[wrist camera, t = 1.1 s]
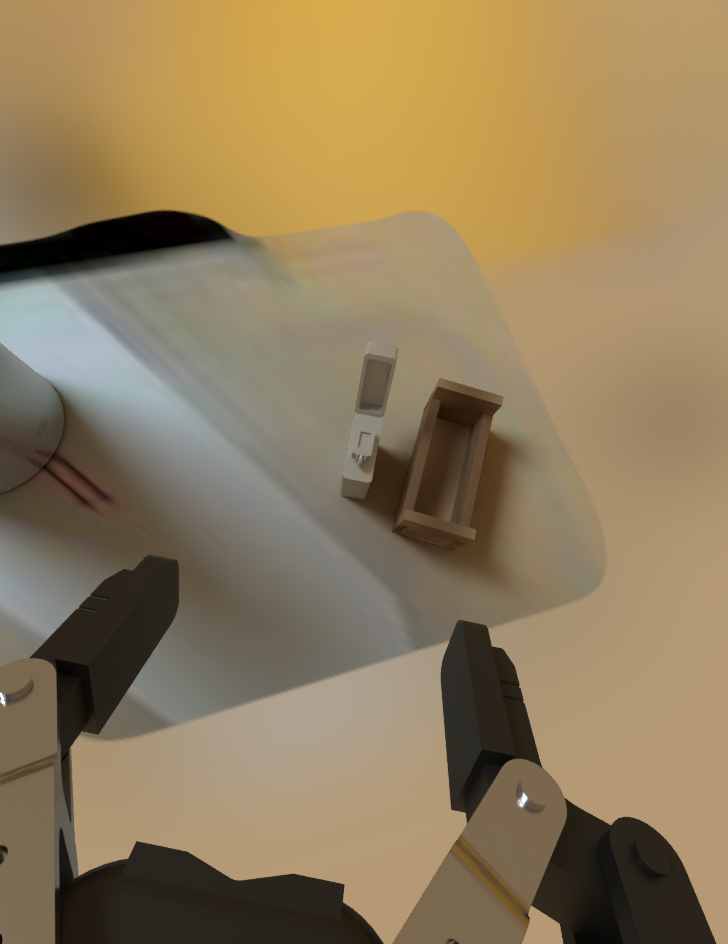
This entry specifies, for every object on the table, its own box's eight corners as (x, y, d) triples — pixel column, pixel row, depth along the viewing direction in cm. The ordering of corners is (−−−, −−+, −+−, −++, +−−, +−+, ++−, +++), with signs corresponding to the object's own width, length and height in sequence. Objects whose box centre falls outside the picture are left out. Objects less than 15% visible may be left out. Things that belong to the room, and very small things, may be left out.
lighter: (365, 500, 29) (378, 463, 21) (339, 495, 29) (344, 456, 21) (382, 404, 31) (400, 340, 23) (358, 400, 31) (369, 333, 23)
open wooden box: (391, 531, 28) (403, 519, 24) (424, 409, 31) (439, 378, 27) (452, 549, 28) (474, 539, 24) (479, 425, 31) (503, 396, 27)
